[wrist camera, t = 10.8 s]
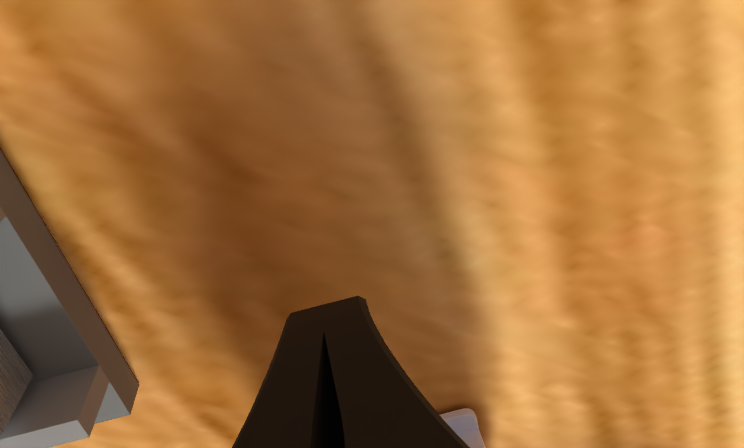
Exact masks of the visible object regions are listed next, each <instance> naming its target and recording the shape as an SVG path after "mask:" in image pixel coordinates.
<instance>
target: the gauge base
mask: <svg viewBox="0 0 744 448" xmlns="http://www.w3.org/2000/svg"><path fill="white" fill-rule="evenodd" d="M0 329H1V331H2V332H3V333H4V335H5V336H6V338H7V339H8V340H9V342H10V343H11V345H12V346H13V347H14V349H15V350H16V352H17V353H18V354H19V356H20V357H21V359H22V360H23V361H24V363H25V364H26V366H27V367H28V368H29V370H30V371H31V373H32V374H33V377H32V379H31V380H30V382H29V384H28V386H27V388H26V390H25V392H24V394H23V396H22V397H21V399H20V401H19V403H18V405H17V407H16V409H15V411H14V412H13V414H12V416H11V418H10V420H9V422H8V424H7V426H6V428H5V429H4V431H3V433H2V435H1V437H0V448H49V447H53V446H57V445H61V444H65V443H69V442H73V441H76V440H80V439H84V438H88V437H90V434H91V431H92V428H93V426H94V424H96V423H100V422H104V421H108V420H112V419H115V418H119V417H123V416H127V415H130V414H131V410H132V407H133V404H134V400H135V397H136V394H137V391H138V387H139V383H138V382H137V380H136V378H135V377H134V375H133V373H132V371H131V370H130V368H129V366H128V365H127V363H126V361H125V360H124V358H123V356H122V355H121V353H120V351H119V349H118V348H117V346H116V344H115V343H114V341H113V339H112V338H111V336H110V334H109V333H108V331H107V329H106V327H105V326H104V324H103V322H102V321H101V319H100V317H99V316H98V314H97V312H96V310H95V309H94V307H93V305H92V304H91V302H90V300H89V299H88V297H87V295H86V294H85V292H84V290H83V288H82V287H81V285H80V283H79V282H78V280H77V278H76V277H75V275H74V273H73V272H72V270H71V268H70V266H69V265H68V263H67V261H66V260H65V258H64V256H63V255H62V253H61V251H60V249H59V248H58V246H57V244H56V243H55V241H54V239H53V238H52V236H51V234H50V233H49V231H48V229H47V227H46V226H45V224H44V222H43V221H42V219H41V217H40V216H39V214H38V212H37V211H36V209H35V207H34V205H33V204H32V202H31V200H30V199H29V197H28V195H27V194H26V192H25V190H24V189H23V187H22V185H21V183H20V182H19V180H18V178H17V177H16V175H15V173H14V172H13V170H12V168H11V166H10V165H9V163H8V161H7V160H6V158H5V156H4V155H3V153H2V151H1V150H0Z"/></svg>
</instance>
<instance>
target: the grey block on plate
mask: <svg viewBox="0 0 744 448" xmlns="http://www.w3.org/2000/svg"><path fill="white" fill-rule="evenodd" d="M32 377H33V374H32V373H31V371H30V370H29V368H28V367H27V366H26V364H25V363H24V361H23V360H22V359H21V357H20V356H19V354H18V353H17V352H16V350H15V349H14V347H13V346H12V345H11V343H10V342H9V340H8V339H7V338H6V336H5V335H4V333H3V332H2V331H1V329H0V437H1V435H2V433H3V431H4V429H5V428H6V426H7V424H8V422H9V420H10V418H11V416H12V414H13V412H14V411H15V409H16V407H17V405H18V403H19V401H20V399H21V397H22V396H23V394H24V392H25V390H26V388H27V386H28V384H29V382H30V380H31V379H32Z"/></svg>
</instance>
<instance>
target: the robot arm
mask: <svg viewBox="0 0 744 448" xmlns="http://www.w3.org/2000/svg"><path fill="white" fill-rule="evenodd" d="M232 448H486V447H485V445H484V442H483V439H482V436H481V434H480V431H479V427H478V422H477V418H476V415H475V413H474V411H473V410H471V409H468V408H464V409H459V410H455V411H451V412H448V413H444V414H440V415H439V414H438V413H437V412H436V410H435V409H434V408H433V407H432V406H431V405H430V403H429V402H428V401H427V400H426V398H425V397H424V396H423V395H422V394H421V392H420V391H419V390H418V389H417V387H416V386H415V385H414V383H413V382H412V381H411V380H410V378H409V377H408V376H407V374H406V373H405V371H404V370H403V368H402V367H401V366H400V364H399V363H398V361H397V360H396V359H395V357H394V356H393V354H392V353H391V351H390V350H389V348H388V347H387V345H386V343H385V342H384V340H383V338H382V337H381V335H380V333H379V331H378V330H377V328H376V326H375V324H374V322H373V320H372V318H371V315H370V313H369V310H368V306H367V303H366V300H365V299H363V298H362V297H360V296H355V297H351V298H347V299H344V300H340V301H336V302H332V303H328V304H324V305H320V306H316V307H312V308H308V309H305V310H301V311H297V312H293V313H291V314H290V315H289V317H288V318H287V320H286V323H285V326H284V329H283V332H282V335H281V338H280V341H279V343H278V346H277V349H276V351H275V354H274V357H273V359H272V362H271V364H270V367H269V369H268V372H267V374H266V377H265V379H264V381H263V383H262V386H261V388H260V390H259V393H258V395H257V397H256V400H255V402H254V404H253V406H252V409H251V411H250V413H249V415H248V417H247V419H246V421H245V423H244V425H243V427H242V429H241V431H240V433H239V435H238V437H237V439H236V441H235V443H234V445H233V447H232Z"/></svg>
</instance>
